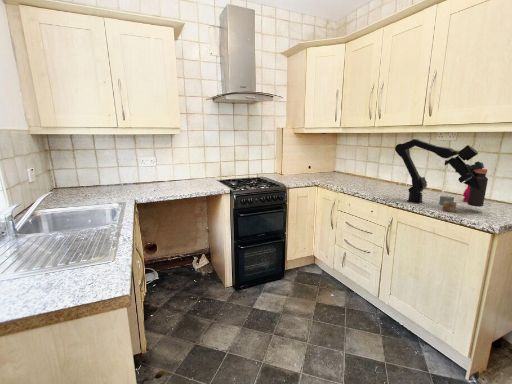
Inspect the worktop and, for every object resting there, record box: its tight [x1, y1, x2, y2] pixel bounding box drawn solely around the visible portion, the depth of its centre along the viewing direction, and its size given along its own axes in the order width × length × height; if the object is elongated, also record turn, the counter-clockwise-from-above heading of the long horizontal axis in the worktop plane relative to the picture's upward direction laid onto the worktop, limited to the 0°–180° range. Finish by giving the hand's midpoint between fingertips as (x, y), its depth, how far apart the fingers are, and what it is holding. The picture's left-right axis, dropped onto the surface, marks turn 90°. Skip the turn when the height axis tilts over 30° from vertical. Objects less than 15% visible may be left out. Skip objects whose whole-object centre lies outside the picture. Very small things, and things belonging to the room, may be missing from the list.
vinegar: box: [466, 168, 489, 207], centre depth 143 cm, size 7×7×20 cm
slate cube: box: [438, 195, 455, 206], centre depth 161 cm, size 5×5×5 cm
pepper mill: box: [462, 185, 470, 203], centre depth 166 cm, size 7×7×20 cm
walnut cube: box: [442, 201, 457, 214], centre depth 148 cm, size 5×5×5 cm
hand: (481, 188), depth 143 cm, fingers closed on vinegar, 6 cm apart
